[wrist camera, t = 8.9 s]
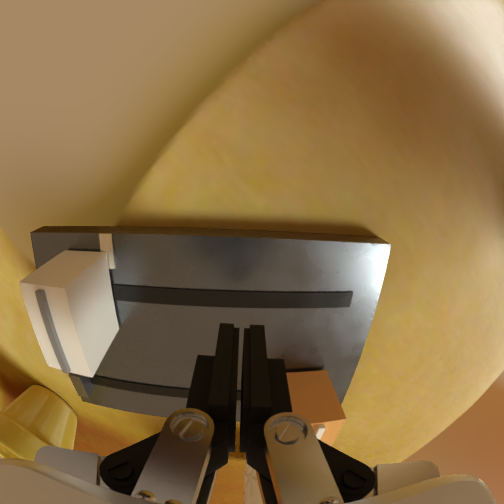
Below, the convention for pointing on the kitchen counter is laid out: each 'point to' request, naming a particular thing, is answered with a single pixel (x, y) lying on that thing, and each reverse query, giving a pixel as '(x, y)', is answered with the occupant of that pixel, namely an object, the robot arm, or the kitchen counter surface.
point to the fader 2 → (316, 403)
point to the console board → (222, 304)
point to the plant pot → (36, 424)
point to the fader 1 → (72, 310)
